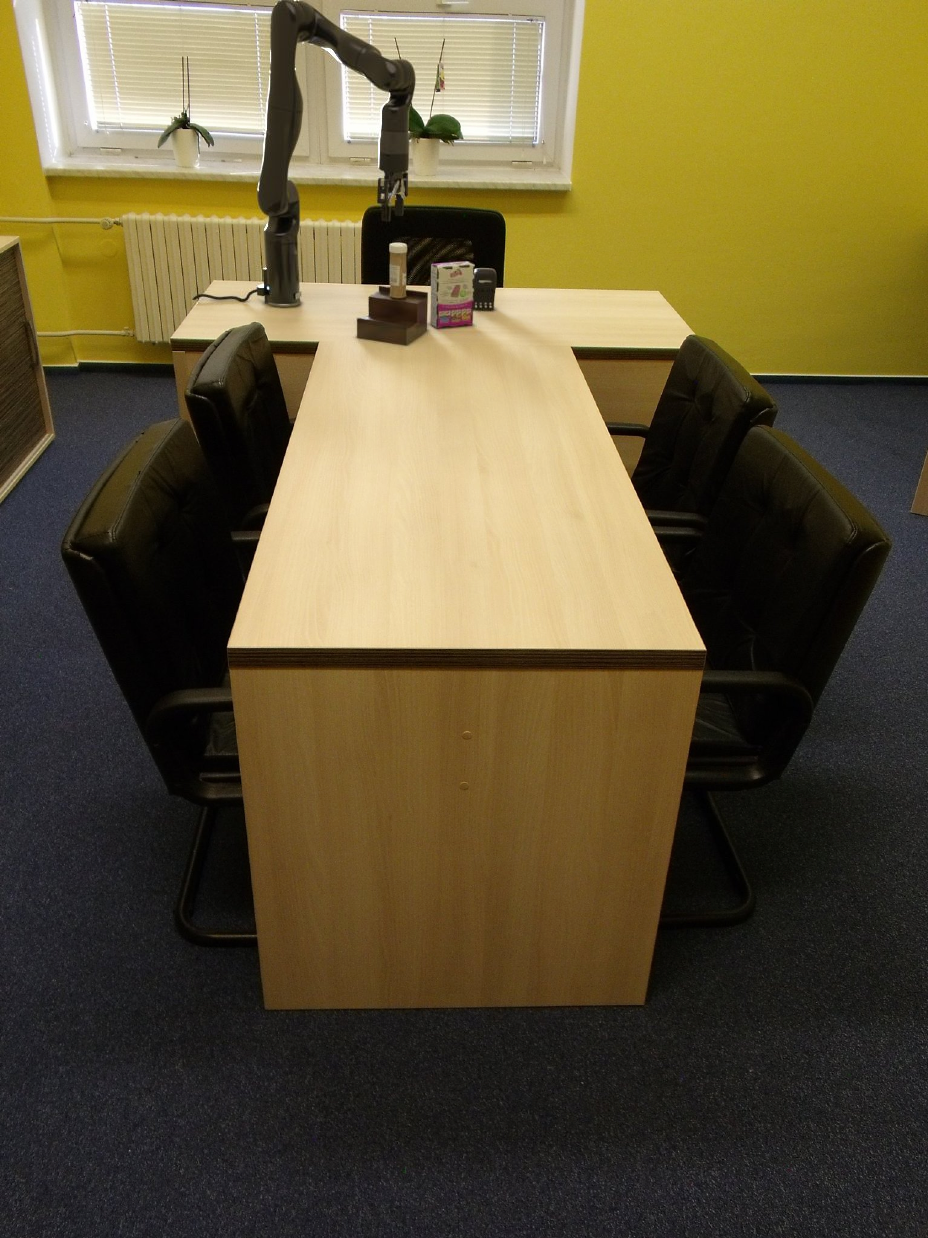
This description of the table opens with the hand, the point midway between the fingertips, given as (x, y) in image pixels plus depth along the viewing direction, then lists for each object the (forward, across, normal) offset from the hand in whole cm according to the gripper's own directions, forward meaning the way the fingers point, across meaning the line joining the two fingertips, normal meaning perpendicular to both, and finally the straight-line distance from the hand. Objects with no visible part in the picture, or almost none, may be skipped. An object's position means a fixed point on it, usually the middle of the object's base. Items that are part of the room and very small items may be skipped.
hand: (392, 218), depth 262 cm
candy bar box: (+28, -9, +14) cm, 33 cm away
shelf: (+28, +7, +4) cm, 29 cm away
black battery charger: (+28, -28, +17) cm, 43 cm away
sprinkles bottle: (+19, +3, +3) cm, 20 cm away
